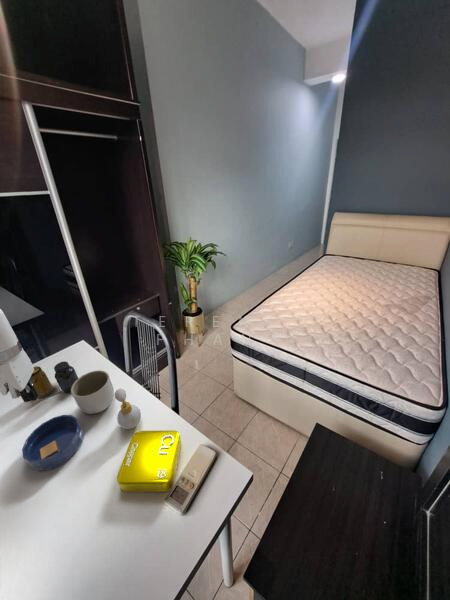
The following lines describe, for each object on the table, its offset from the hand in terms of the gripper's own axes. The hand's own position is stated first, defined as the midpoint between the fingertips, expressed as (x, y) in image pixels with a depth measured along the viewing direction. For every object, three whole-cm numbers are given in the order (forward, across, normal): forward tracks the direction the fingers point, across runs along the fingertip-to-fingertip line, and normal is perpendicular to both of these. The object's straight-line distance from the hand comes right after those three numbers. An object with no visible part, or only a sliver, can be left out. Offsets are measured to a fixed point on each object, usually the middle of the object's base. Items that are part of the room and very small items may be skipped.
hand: (31, 399), depth 74 cm
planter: (+18, -8, +13) cm, 24 cm away
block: (+17, +9, +2) cm, 19 cm away
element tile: (+18, +20, +32) cm, 41 cm away
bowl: (+18, +5, +2) cm, 18 cm away
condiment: (+18, -22, -8) cm, 30 cm away
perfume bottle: (+18, +4, +24) cm, 30 cm away
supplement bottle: (+18, -21, +1) cm, 28 cm away
